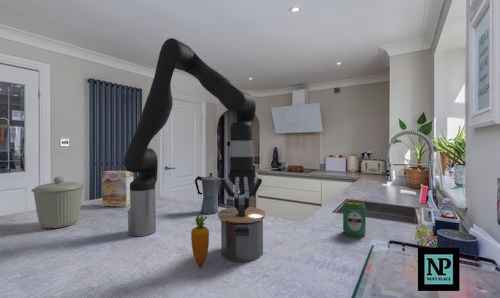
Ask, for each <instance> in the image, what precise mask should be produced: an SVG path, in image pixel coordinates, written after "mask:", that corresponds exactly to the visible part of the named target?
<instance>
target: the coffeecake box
mask: <svg viewBox="0 0 500 298" xmlns="http://www.w3.org/2000/svg"><path fill="white" fill-rule="evenodd" d="M133 180H134V173H133V172H129V171H127V170H106V171H101V183H102V184H101V185H102V187H101V188H102V191H101V192H102V195H101V196H102V206H103V205H104V206H120V207H119V208H128V207H127V206H129V207H130V183H131V182H132V181H133Z"/></svg>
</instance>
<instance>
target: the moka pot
mask: <svg viewBox="0 0 500 298" xmlns="http://www.w3.org/2000/svg"><path fill="white" fill-rule="evenodd" d="M222 179H223V178H220V177H218V176H213V173H212V172H210V173H209V175H208V176H199V175H198V176H197V177H196V178H195V179H194V183H195V187H196V191H197V194H198V195H200V196H201V195H202V201H201V209H200V213H202V214H204V215H215V214H218V213H219V205H218V193H219V188H220V186H221V184H222V183H221V180H222ZM198 180H199V181H201V187H202V192H201V191H200V187H199V184H198V183H199V182H198Z"/></svg>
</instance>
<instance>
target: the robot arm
mask: <svg viewBox="0 0 500 298" xmlns="http://www.w3.org/2000/svg"><path fill="white" fill-rule="evenodd" d="M197 54H198V53H196V52H195V51H194V50H193V49H192V48H191V47H190V46H189V45H187V44H185V43H183V42H181V41H180V40H178V39H176V38H173V37H170V38H168V39H166V40H165V41H164V42H163V43H162V45H161V47H160V50H159V54H158V58H157V61H156V62H157V63H156V67H155V72H154V76H153V79H152V83H151V86H150V90H149V92H148V95H147V98H146V101H145V102H144V106H143V108H142V112H141V117H140V119H139V122H138V124H137V127H136V130H135V133H134V135H133V137H132V139H131V141H130V143H129V145H128V148H127V150H126V152H125V155H124V161H123V163H124V164H123V166H124V167H125V171H129V172H133V174H134V173H135V174H136V173H138V175H137V177H136V178H135V179H133V181H132V182H131V183H130V206H129V209H128V210H127V222H128V223H127V224H128V226H127V227H128V233H127V234H128V235H129V236H134V237H143V236H144V237H146V236H149V235H152V234H155V232H156V231H157V221H156V220H157V216H156V215H157V214H156V213H157V212H156V211H157V210H156V209H157V208H156V207H157V206H156V205H157V204H156V184H157V180H158V170H159V169H158V166H159V164H158V162H159V161H158V155H157V152H156V151H155V150H154V149H152V148H150V147H149V145H150V143H151V141H152V140H153V139H154V137H155V136H156V135H157V134H158V133H159V132H160V131H161V130H162V129H163V128H164V126H165V125H166V124H167V122H168V120H169V117H170V115H171V113H172V110H173V109H172V108H173V102H174V101H173V94H172V88H171V87H172V86H171V85H172V84H171V83H172V77H173V75H174V72H175V69H176V70H179V71H183V72H185V73H187V74H189V75H190V76H192V77H194V78H195V79H196V80H198V82H199V84H200V85H201V86H202V88H204V89H205V90H206V91H207V92H208V93H210V95H212V96H214V97H215V98H216V99H217V100H218V101H219V102H220V103H221V105H223V107H224V108H225V109H227V110H228V111H229V112H231V113H234V114H235V117H236V118H235V121H234V122H232V123H231V124H230V128H229V129H230V130H229V131H230V132H229V134H230V135H229V136H230V137H229V138H230V139H229V140H230V141H229V172H228V175H227V176H226V177H223V178H221V179H222V180H221V184H222V187H224V189H225V192H226V194H227V195H228V197H232V198H233V201H234V202H233V207H235V208H236V210H238V203H239V199H240V198H239V188H244V199H245V210H247V208H249V207H250V197H254V196H255V195H256V193H257V191H258V189H259V188H260V187H261V184H262V181H263V180H262V178H260V177H257V176H256V174H255V172H254V144H253V125H254V122H255V116H256V111H257V106H256V100H255V98H254V96H253V95H252V94H250V93H249V92H248V93H247V92H245V91H242V90H241V89H238V88H237V87H235V86H234V84H233V83H232V81H230V80H229V79H228V78H227V77H226V76H224V75H223V74H221V73H219V72H218V71H217V70H215V69H213V68H212V67H211V66H210V65H208V64H207V63H205V62H204V61H203V60H202V59H201V57H200V56H199V55H197ZM253 180H254V181H253ZM230 182H231V183H232V184H233V186H234V192H233V190H232V189H231V188H230V187H231V186H230V185H229V183H230ZM252 182H253V183H254V185H253V187H252V190H251V191H249V186H250V185H251V184H252Z"/></svg>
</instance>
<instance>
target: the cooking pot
mask: <svg viewBox="0 0 500 298" xmlns="http://www.w3.org/2000/svg"><path fill="white" fill-rule="evenodd" d="M263 220H264V219H263ZM263 220H260V221H258V222H253V223H244V224H237V223H228V222H224V221H221V220H220V222H221V223H220V225H221V226H220V227H221V228H220V229H221V230H220V232H221V233H220V234H221V239H220V240H221V244H220V245H221V246H220V248H221V257H223V258H224V259H225V260H227V261H231V262H235V263H248V262H252V261H255V260H258V259H259V258H261V257H262V256H264V227H263V226H264V223H263V222H264V221H263Z"/></svg>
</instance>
